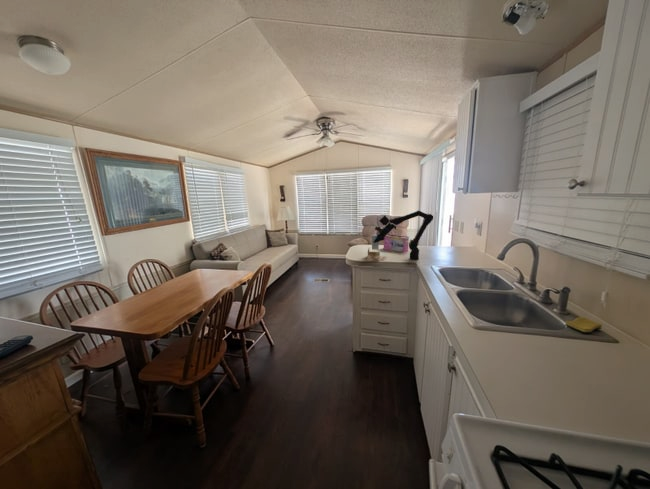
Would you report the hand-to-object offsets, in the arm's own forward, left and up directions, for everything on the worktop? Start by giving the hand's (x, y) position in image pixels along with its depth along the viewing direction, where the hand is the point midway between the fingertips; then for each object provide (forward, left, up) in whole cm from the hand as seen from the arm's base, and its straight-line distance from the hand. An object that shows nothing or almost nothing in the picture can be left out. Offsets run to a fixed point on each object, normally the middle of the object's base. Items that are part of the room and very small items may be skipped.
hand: (373, 241), depth 209 cm
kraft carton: (-5, +5, -13) cm, 15 cm away
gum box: (-11, -35, -14) cm, 40 cm away
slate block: (-1, 0, -6) cm, 6 cm away
